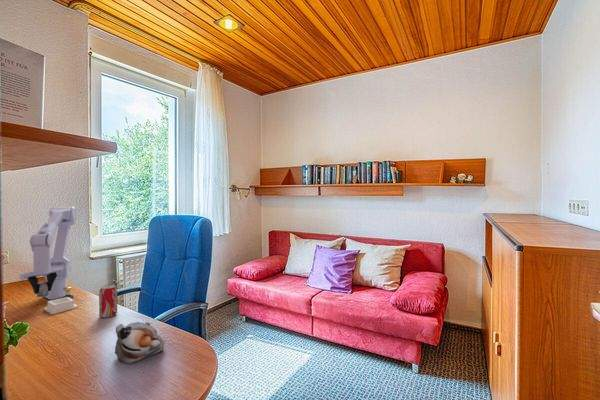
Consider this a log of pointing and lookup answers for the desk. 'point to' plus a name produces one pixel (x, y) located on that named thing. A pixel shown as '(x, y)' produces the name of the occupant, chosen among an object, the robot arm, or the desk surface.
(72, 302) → the dock
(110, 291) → the beverage can
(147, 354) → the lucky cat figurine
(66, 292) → the lock pin
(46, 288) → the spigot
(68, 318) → the desk surface
